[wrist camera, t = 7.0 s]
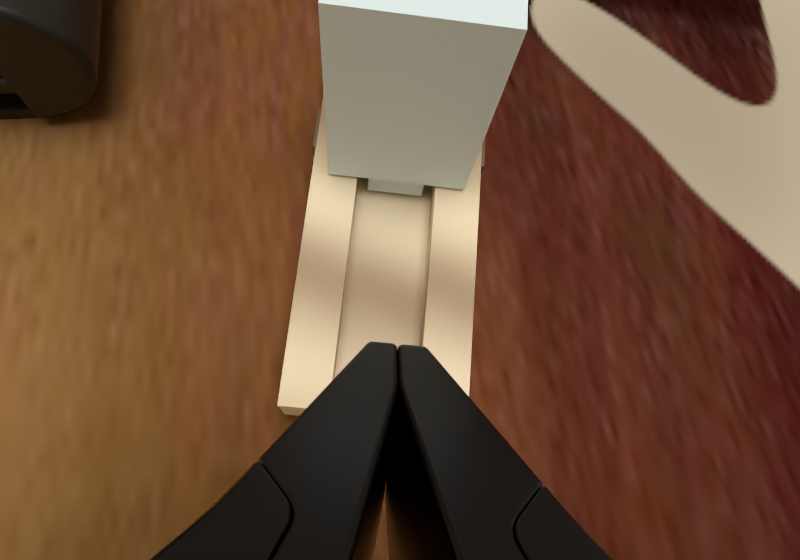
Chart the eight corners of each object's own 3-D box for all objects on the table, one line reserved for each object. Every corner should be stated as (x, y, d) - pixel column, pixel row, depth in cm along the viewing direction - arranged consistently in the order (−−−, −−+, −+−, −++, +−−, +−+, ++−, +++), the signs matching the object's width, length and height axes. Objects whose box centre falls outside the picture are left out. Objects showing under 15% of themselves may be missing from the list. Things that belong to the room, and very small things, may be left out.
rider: (457, 205, 23) (527, 29, 14) (329, 190, 23) (318, 2, 14) (464, 112, 25) (530, -102, 16) (342, 97, 24) (339, -129, 15)
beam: (457, 431, 22) (470, 424, 20) (281, 414, 22) (273, 405, 20) (483, -16, 29) (495, -63, 26) (347, -34, 28) (347, -84, 26)
